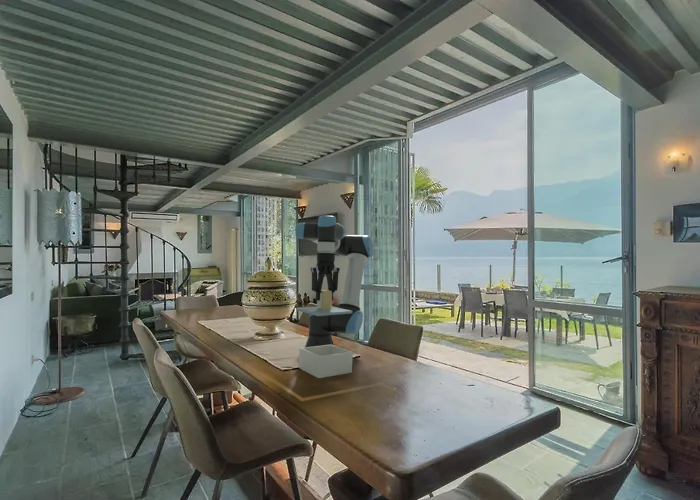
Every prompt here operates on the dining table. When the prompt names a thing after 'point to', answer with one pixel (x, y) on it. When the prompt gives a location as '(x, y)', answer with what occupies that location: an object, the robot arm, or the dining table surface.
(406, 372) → the dining table surface
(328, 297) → the lid
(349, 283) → the robot arm
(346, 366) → the box
